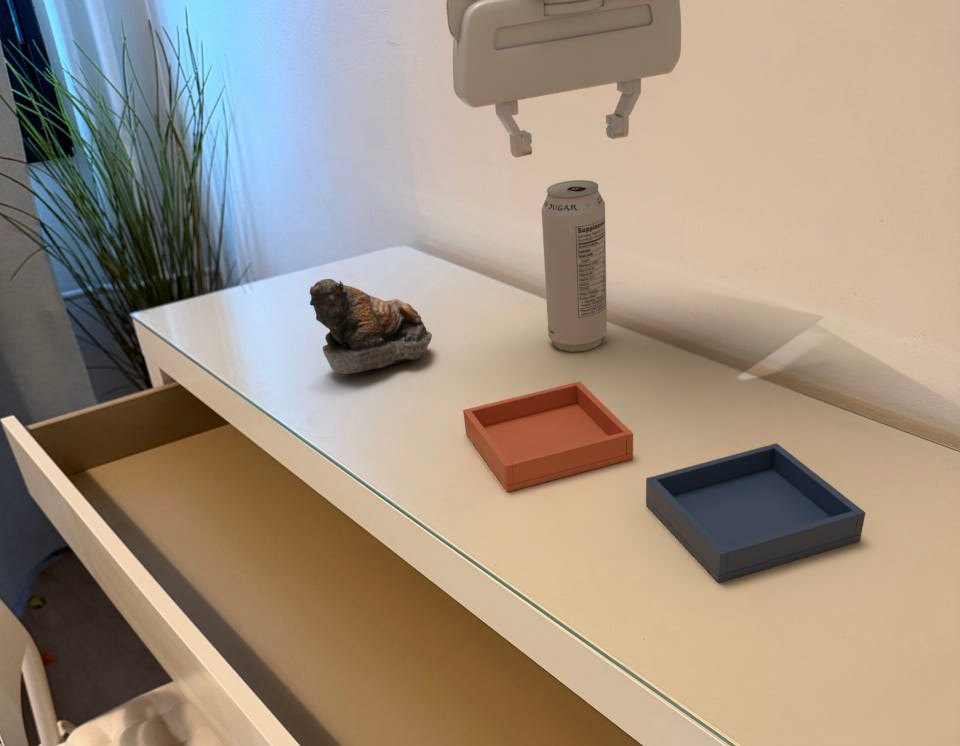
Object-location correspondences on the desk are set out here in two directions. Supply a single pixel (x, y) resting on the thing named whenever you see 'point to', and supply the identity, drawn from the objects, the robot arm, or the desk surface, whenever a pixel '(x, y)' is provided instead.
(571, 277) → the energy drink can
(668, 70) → the robot arm
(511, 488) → the terracotta tray
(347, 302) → the bison figurine
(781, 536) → the slate tray
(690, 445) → the desk surface
